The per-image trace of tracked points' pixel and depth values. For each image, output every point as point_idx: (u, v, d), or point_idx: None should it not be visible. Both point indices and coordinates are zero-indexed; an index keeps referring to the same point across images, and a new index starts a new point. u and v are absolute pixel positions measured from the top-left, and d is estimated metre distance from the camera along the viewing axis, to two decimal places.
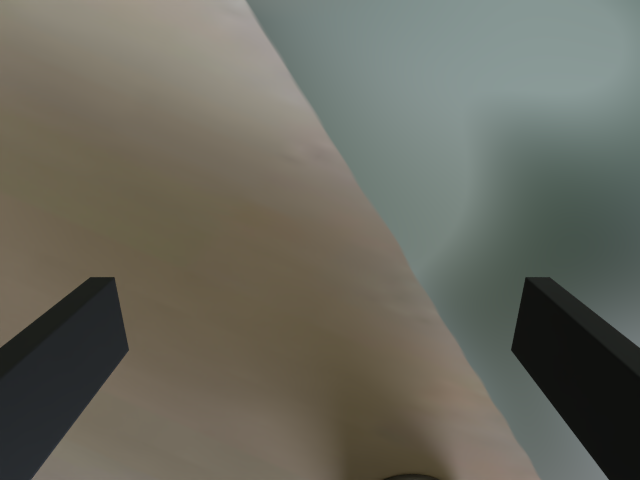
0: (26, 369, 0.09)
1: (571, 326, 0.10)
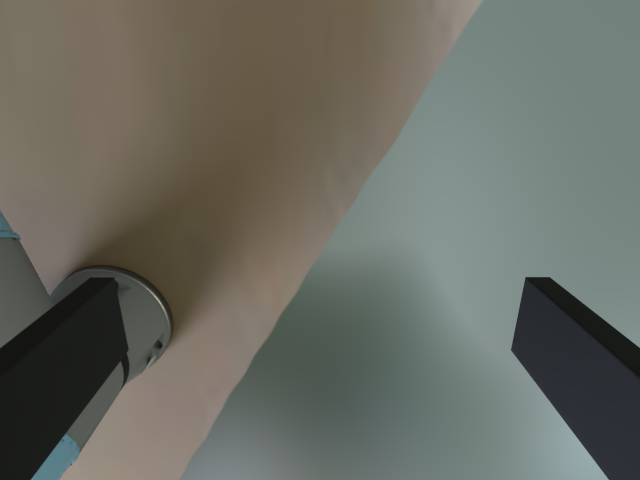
0: (26, 369, 0.09)
1: (571, 326, 0.10)
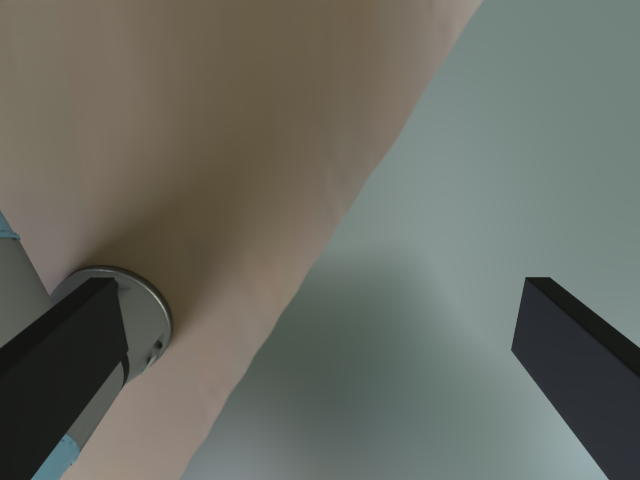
0: (26, 369, 0.09)
1: (571, 326, 0.10)
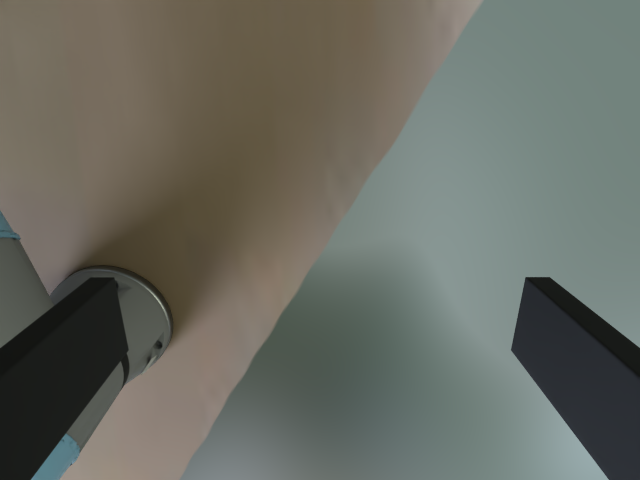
0: (26, 369, 0.09)
1: (571, 326, 0.10)
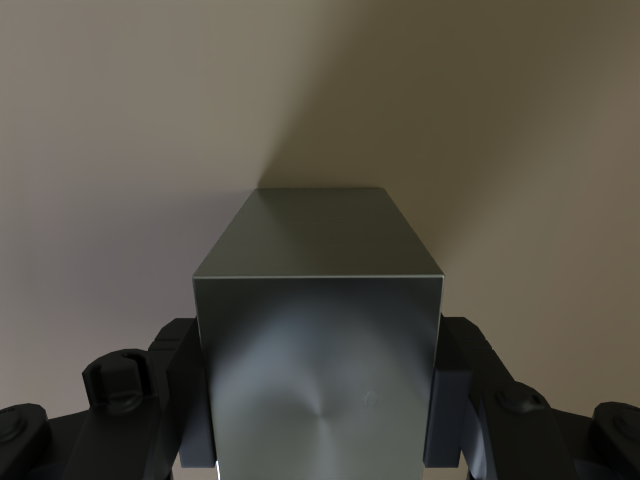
0: None
1: None
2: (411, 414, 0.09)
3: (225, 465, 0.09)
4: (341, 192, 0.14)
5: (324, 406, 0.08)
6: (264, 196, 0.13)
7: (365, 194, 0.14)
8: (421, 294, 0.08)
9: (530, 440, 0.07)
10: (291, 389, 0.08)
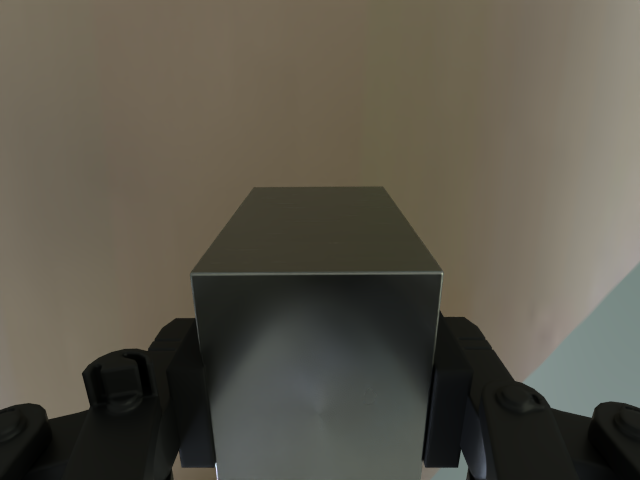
0: None
1: None
2: (410, 412, 0.09)
3: (223, 463, 0.09)
4: (340, 190, 0.14)
5: (323, 404, 0.08)
6: (263, 194, 0.13)
7: (364, 192, 0.14)
8: (420, 291, 0.08)
9: (530, 440, 0.07)
10: (289, 387, 0.08)
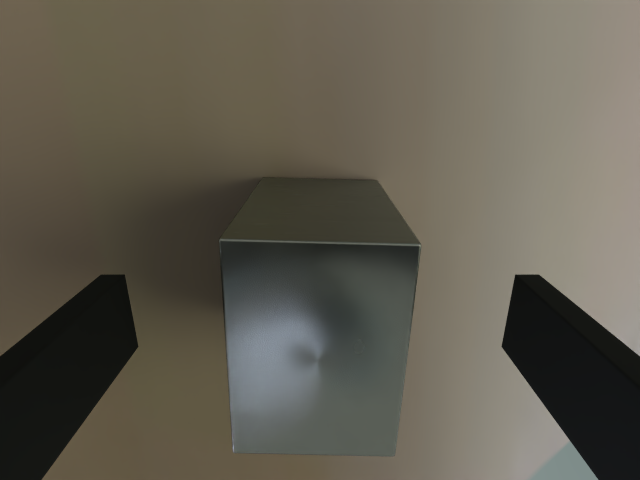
0: (43, 363, 0.09)
1: (558, 322, 0.10)
2: (392, 361, 0.10)
3: (237, 401, 0.11)
4: (339, 182, 0.16)
5: (321, 351, 0.10)
6: (272, 183, 0.15)
7: (360, 184, 0.15)
8: (402, 259, 0.09)
9: None
10: (294, 337, 0.10)
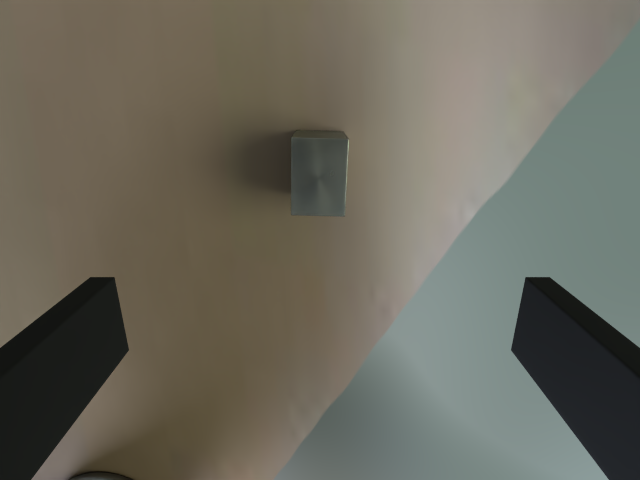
0: (26, 369, 0.09)
1: (571, 326, 0.10)
2: (342, 178, 0.34)
3: (293, 194, 0.34)
4: (327, 131, 0.39)
5: (320, 175, 0.34)
6: (301, 131, 0.39)
7: (336, 131, 0.39)
8: (343, 143, 0.33)
9: None
10: (312, 169, 0.34)
